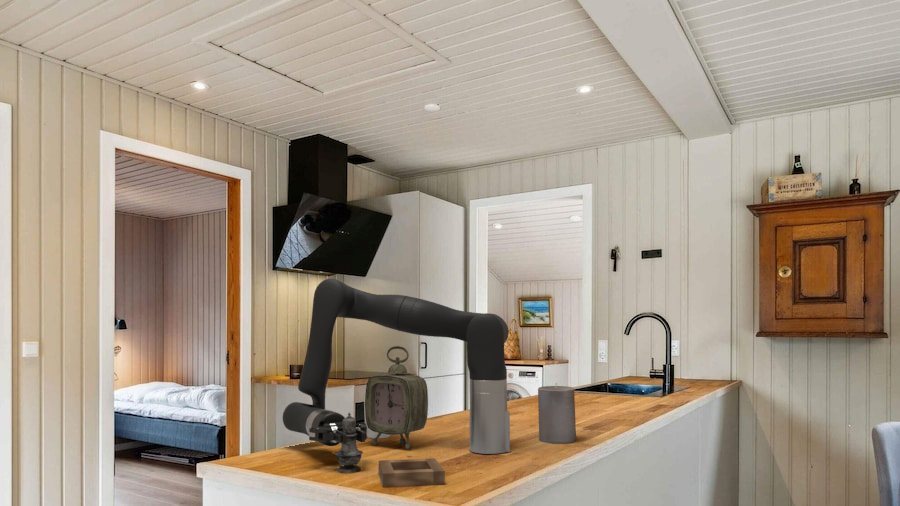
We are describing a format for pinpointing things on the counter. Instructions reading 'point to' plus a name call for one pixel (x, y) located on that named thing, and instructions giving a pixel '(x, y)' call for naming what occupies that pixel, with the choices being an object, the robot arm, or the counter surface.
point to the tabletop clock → (396, 402)
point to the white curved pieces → (371, 433)
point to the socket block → (411, 472)
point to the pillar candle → (556, 414)
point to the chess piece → (349, 448)
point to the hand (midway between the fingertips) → (354, 438)
